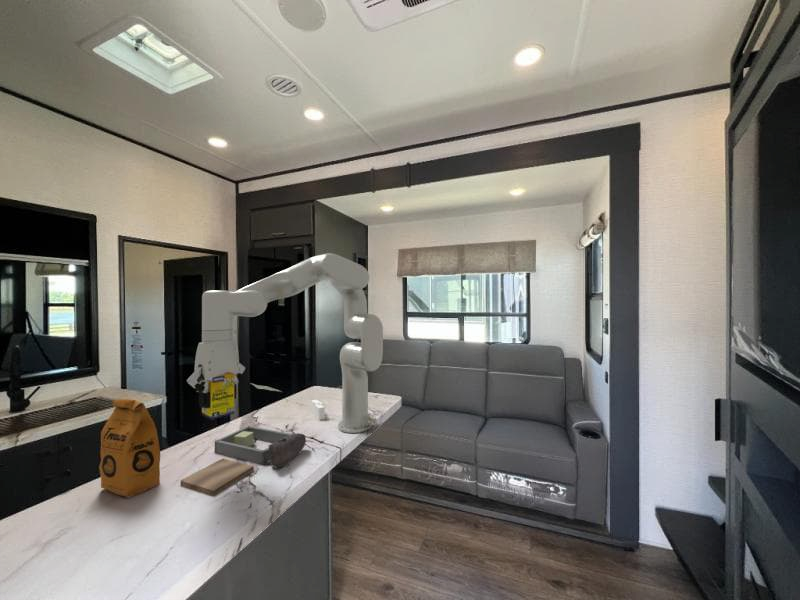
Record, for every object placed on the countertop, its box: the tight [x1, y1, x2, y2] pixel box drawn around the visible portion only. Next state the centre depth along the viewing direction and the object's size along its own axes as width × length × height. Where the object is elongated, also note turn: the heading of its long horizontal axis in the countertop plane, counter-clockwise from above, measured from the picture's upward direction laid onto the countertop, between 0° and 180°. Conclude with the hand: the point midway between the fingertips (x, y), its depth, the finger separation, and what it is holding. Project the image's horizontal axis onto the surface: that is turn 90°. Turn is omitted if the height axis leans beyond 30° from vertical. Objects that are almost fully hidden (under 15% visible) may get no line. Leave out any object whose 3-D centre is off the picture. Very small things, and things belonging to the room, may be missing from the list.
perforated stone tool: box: [268, 433, 307, 469], centre depth 92 cm, size 15×5×7 cm, turn 157°
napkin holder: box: [310, 399, 326, 421], centre depth 127 cm, size 15×11×6 cm
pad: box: [180, 458, 255, 497], centre depth 83 cm, size 12×12×1 cm
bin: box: [214, 425, 294, 465], centre depth 99 cm, size 20×13×4 cm, turn 68°
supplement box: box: [201, 373, 235, 421], centre depth 83 cm, size 6×6×11 cm
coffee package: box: [98, 397, 161, 499], centre depth 79 cm, size 10×12×22 cm
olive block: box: [234, 431, 254, 447], centre depth 101 cm, size 4×4×4 cm
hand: (218, 402), depth 83 cm, fingers closed on supplement box, 7 cm apart
